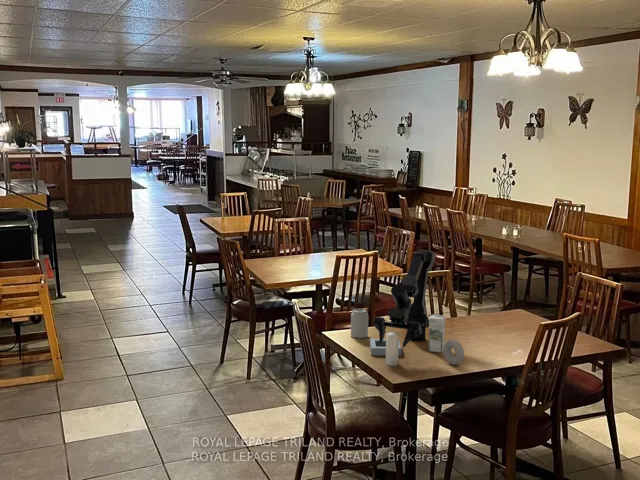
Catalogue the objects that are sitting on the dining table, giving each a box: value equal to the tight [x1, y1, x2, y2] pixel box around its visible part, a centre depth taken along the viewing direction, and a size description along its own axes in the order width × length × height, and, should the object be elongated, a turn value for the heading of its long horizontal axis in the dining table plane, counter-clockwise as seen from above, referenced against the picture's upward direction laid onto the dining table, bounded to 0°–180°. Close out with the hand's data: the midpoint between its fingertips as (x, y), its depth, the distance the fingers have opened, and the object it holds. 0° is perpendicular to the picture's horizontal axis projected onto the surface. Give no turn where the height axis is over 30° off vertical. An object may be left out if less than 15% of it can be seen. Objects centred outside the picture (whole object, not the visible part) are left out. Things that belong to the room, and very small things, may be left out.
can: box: [350, 308, 369, 340], centre depth 277 cm, size 8×8×12 cm
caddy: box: [369, 338, 402, 357], centre depth 259 cm, size 12×12×3 cm
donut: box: [442, 338, 465, 366], centre depth 243 cm, size 10×4×10 cm, turn 33°
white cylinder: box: [385, 331, 400, 367], centre depth 244 cm, size 5×5×12 cm
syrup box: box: [428, 314, 446, 354], centre depth 259 cm, size 6×6×14 cm
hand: (391, 344), depth 243 cm, fingers open, 9 cm apart
